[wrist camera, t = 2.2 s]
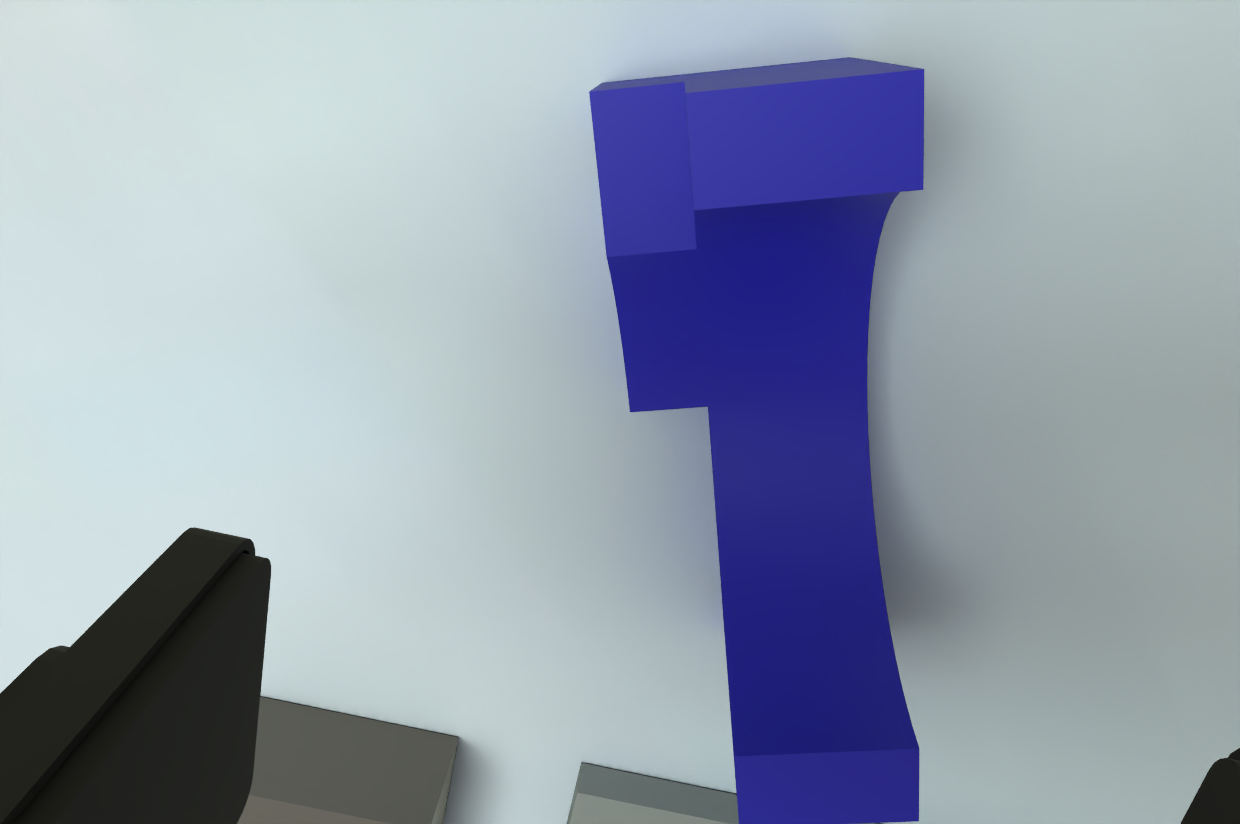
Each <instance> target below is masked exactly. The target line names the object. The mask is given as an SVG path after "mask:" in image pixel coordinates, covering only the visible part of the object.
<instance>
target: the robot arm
mask: <svg viewBox="0 0 1240 824" xmlns="http://www.w3.org/2000/svg"><path fill="white" fill-rule="evenodd" d="M270 579H271V564H270V561H269V559H268V558H263V557H259V556H255V548H254V543H253V542H252V541H251V539H247V538H242V537H238V536H233V535H228V534H223V533H218V532H214V531H209V530H204V529H199V528H189V529H188V530H186V531H185V532H184V533H183V534H182V535H181V536H180V537H179V538H178V539H177V540H176V541H175V542H174V543H173V544H172V545H171V546H170V547H169V548H168V549H167V550H166V551H165V552H164V553H163V554H162V555H161V556H160V557H159V558H158V559H157V560H156V561H155V562H154V563H153V564H152V565H151V566H150V567H149V568H148V569H147V570H146V571H145V572H144V573H143V574H142V575H141V576H140V577H139V578H138V579H137V580H136V581H135V582H134V583H133V584H132V585H131V586H130V587H129V588H128V589H127V590H126V591H125V592H124V593H123V594H122V595H121V596H120V597H119V598H118V599H117V600H116V601H115V602H114V603H113V604H112V605H111V606H110V607H109V608H108V609H107V610H106V611H105V612H104V613H103V614H102V615H101V616H100V617H99V618H98V619H97V620H96V621H95V622H94V623H93V624H92V625H91V627H90V628H89V629H88V630H87V631H86V632H85V633H84V634H83V635H82V636H81V637H80V638H79V639H78V640H77V641H76V642H75V643H74V644H73V645H72V646H71V647H66V646H58V647H54V648H50V649H48V650H47V651H46V652H44V653H43V654H42V655H40V656H39V657H38V658H36V659H35V660H34V661H33V662H32V663H31V664H30V665H29V666H28V667H27V668H26V669H25V670H24V671H23V672H22V673H21V674H20V675H19V676H18V677H17V678H16V679H15V680H14V681H13V682H12V683H11V684H10V685H9V686H8V687H7V688H6V689H5V690H4V691H2V692H1V693H0V824H237V822H238V821H239V819H240V817H241V815H242V813H243V810H244V808H245V805H246V803H247V799H248V796H249V793H250V789H251V785H252V780H253V772H254V760H255V749H256V738H257V726H258V715H259V704H260V692H261V681H262V670H263V658H264V647H265V636H266V624H267V613H268V602H269V590H270ZM1181 824H1240V748H1239V749H1237V750H1236V751H1234V752H1233V753H1231V754H1230V756H1229V757H1228V758H1223V759H1219V760H1218V761H1216V762H1215V763H1214V764H1213V765H1212V767H1211V768H1210V769H1209V771H1208V773H1207V775H1206V777H1205V779H1204V781H1203V782H1202V784H1201V786H1200V788H1199V790H1198V792H1197V794H1196V796H1195V797H1194V799H1193V801H1192V803H1191V805H1190V807H1189V809H1188V811H1187V813H1186V814H1185V816H1184V818H1183V820H1182V822H1181Z"/></svg>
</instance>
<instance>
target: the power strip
mask: <svg viewBox="0 0 1240 824" xmlns="http://www.w3.org/2000/svg"><path fill="white" fill-rule="evenodd" d="M457 743H458V737H454V736H449V735H444V734H439V733H434V732H429V731H424V730H420V729H415V728H410V727H405V726H400V725H395V724H390V723H386V722H381V721H376V720H371V719H366V718H361V717H356V716H352V715H347V714H342V713H337V712H332V711H327V710H322V709H317V708H313V707H308V706H303V705H298V704H293V703H288V702H283V701H279V700H274V699H269V698H264V697H260V704H259V715H258V726H257V738H256V749H255V760H254V772H253V780H252V785H251V789H250V793H249V796H248V799H247V803H246V805H245V808H244V810H243V813H242V815H241V817H240V819H239V821H238V822H237V824H443V821H444V815H445V810H446V804H447V799H448V793H449V788H450V782H451V776H452V771H453V765H454V760H455V754H456V749H457Z"/></svg>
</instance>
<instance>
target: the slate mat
mask: <svg viewBox="0 0 1240 824" xmlns="http://www.w3.org/2000/svg"><path fill="white" fill-rule="evenodd" d="M567 824H739V818H738V804H737V795H736V794H731V793H726V792H721V791H716V790H711V789H706V788H702V787H697V786H692V785H687V784H682V783H677V782H672V781H667V780H663V779H658V778H653V777H648V776H643V775H638V774H633V773H629V772H624V771H619V770H614V769H609V768H604V767H599V766H595V765H590V764H585V763H581V766H580V770H579V775H578V779H577V783H576V787H575V791H574V796H573V800H572V804H571V808H570V812H569V816H568V821H567ZM857 824H876V823H857Z"/></svg>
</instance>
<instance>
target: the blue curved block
mask: <svg viewBox="0 0 1240 824" xmlns="http://www.w3.org/2000/svg"><path fill="white" fill-rule="evenodd" d="M589 93H590V102H591V112H592V121H593V131H594V140H595V150H596V159H597V169H598V178H599V188H600V197H601V207H602V216H603V226H604V235H605V245H606V254H607V260H608V265H609V269H610V274H611V279H612V284H613V290H614V295H615V301H616V307H617V313H618V319H619V326H620V333H621V340H622V347H623V355H624V363H625V371H626V379H627V388H628V397H629V406H630V412H639V411H653V410H666V409H680V408H694V407H707V406H708V413H709V427H710V441H711V454H712V468H713V481H714V495H715V509H716V522H717V536H718V550H719V563H720V577H721V591H722V604H723V618H724V632H725V645H726V658H727V671H728V685H729V698H730V711H731V725H732V738H733V751H734V764H735V778H736V791H737V804H738V818H739V824H857V823H884V822H911V821H919V746H918V743H917V740H916V736H915V733H914V730H913V727H912V723H911V720H910V716H909V712H908V709H907V705H906V701H905V697H904V693H903V689H902V685H901V681H900V676H899V671H898V667H897V662H896V658H895V653H894V648H893V643H892V637H891V632H890V626H889V621H888V615H887V609H886V603H885V597H884V590H883V584H882V576H881V569H880V562H879V554H878V546H877V537H876V528H875V519H874V509H873V497H872V486H871V472H870V457H869V438H868V411H867V350H868V325H869V309H870V298H871V288H872V279H873V271H874V265H875V259H876V253H877V248H878V243H879V238H880V235H881V231H882V227H883V224H884V221H885V218H886V215H887V213H888V210H889V208H890V206H891V204H892V202H893V200H894V199H895V197H896V196H897V195H898V194H899V193H900V192H902V191H913V190H923V159H924V69H921V68H914V67H908V66H902V65H895V64H889V63H882V62H876V61H870V60H863V59H857V58H850V57H849V58H839V59H830V60H820V61H810V62H800V63H791V64H781V65H771V66H761V67H752V68H742V69H732V70H722V71H713V72H703V73H693V74H684V75H674V76H664V77H654V78H645V79H635V80H625V81H615V82H606V83H601V84H600V85H598V86H597V87H595V88H594V89H593V90H591V91H590V92H589Z"/></svg>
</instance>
